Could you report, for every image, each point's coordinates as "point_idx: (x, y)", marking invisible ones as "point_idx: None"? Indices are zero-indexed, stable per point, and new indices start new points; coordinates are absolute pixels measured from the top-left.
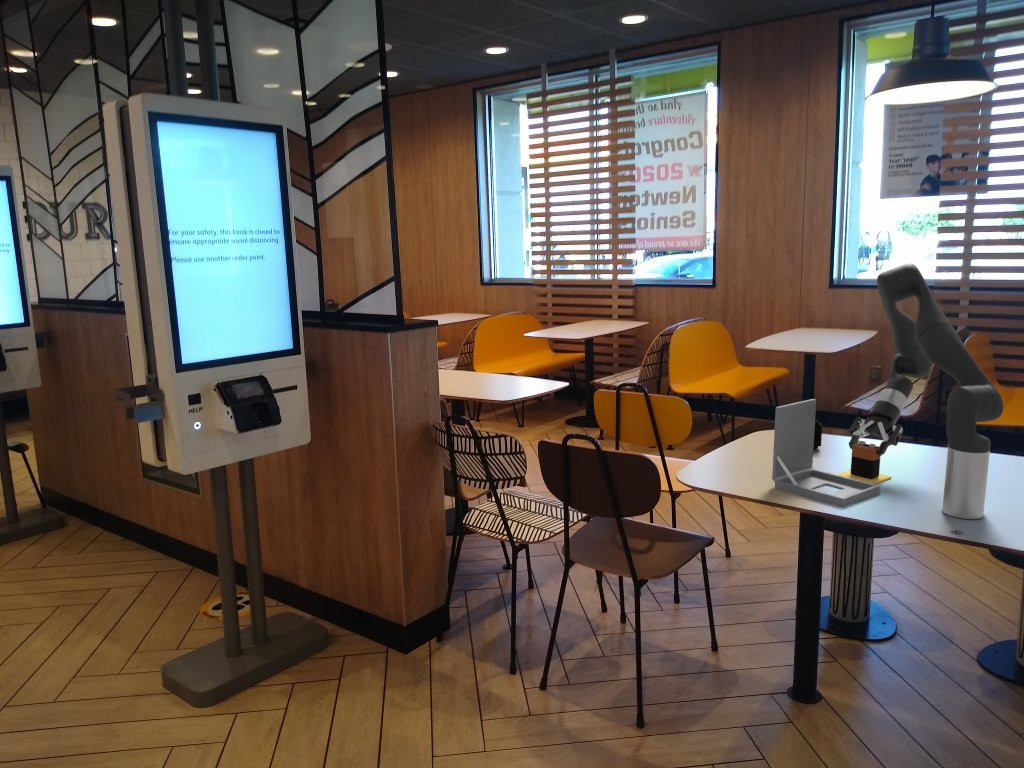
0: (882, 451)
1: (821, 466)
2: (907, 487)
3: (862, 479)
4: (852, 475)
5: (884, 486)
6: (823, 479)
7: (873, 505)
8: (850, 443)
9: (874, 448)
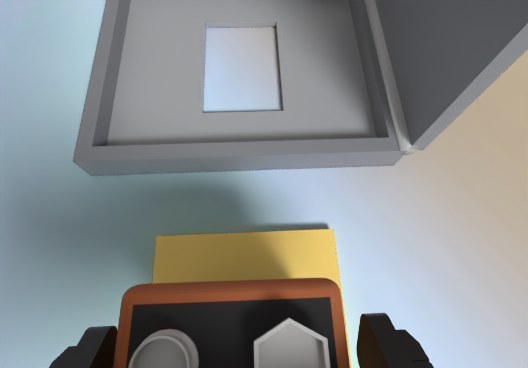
0: (64, 357)
1: (495, 335)
2: (20, 363)
3: (216, 264)
4: None
5: (113, 281)
6: (319, 139)
7: (60, 58)
8: (390, 326)
9: (126, 322)
